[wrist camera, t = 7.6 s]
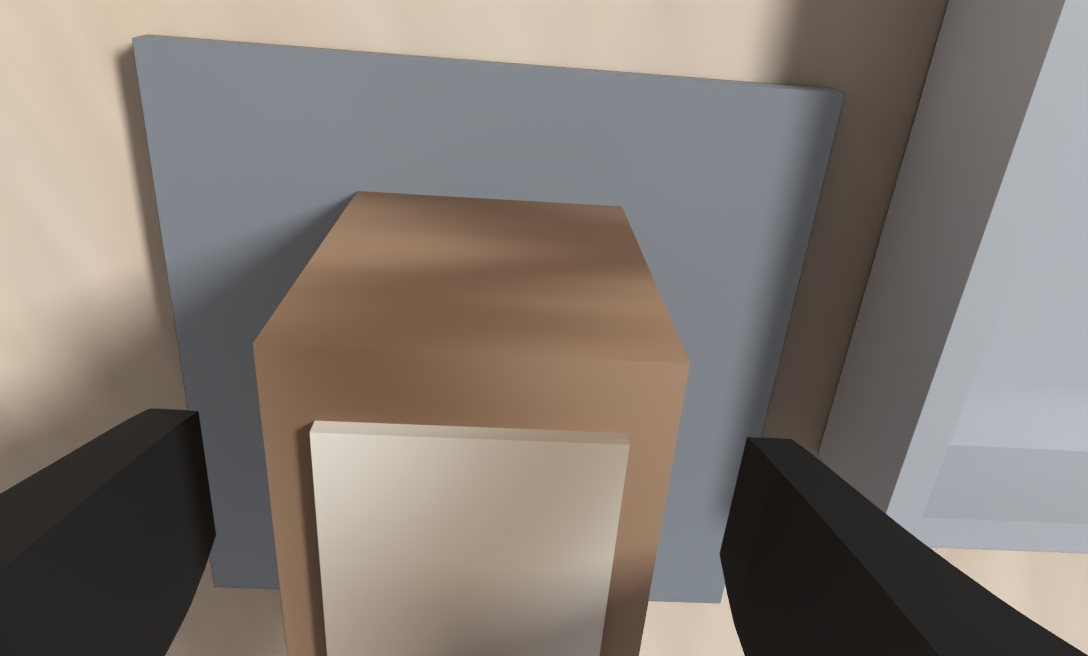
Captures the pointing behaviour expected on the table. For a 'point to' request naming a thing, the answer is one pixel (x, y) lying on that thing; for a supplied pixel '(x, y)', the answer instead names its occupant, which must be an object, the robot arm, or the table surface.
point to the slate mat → (493, 173)
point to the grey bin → (981, 296)
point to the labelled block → (469, 431)
